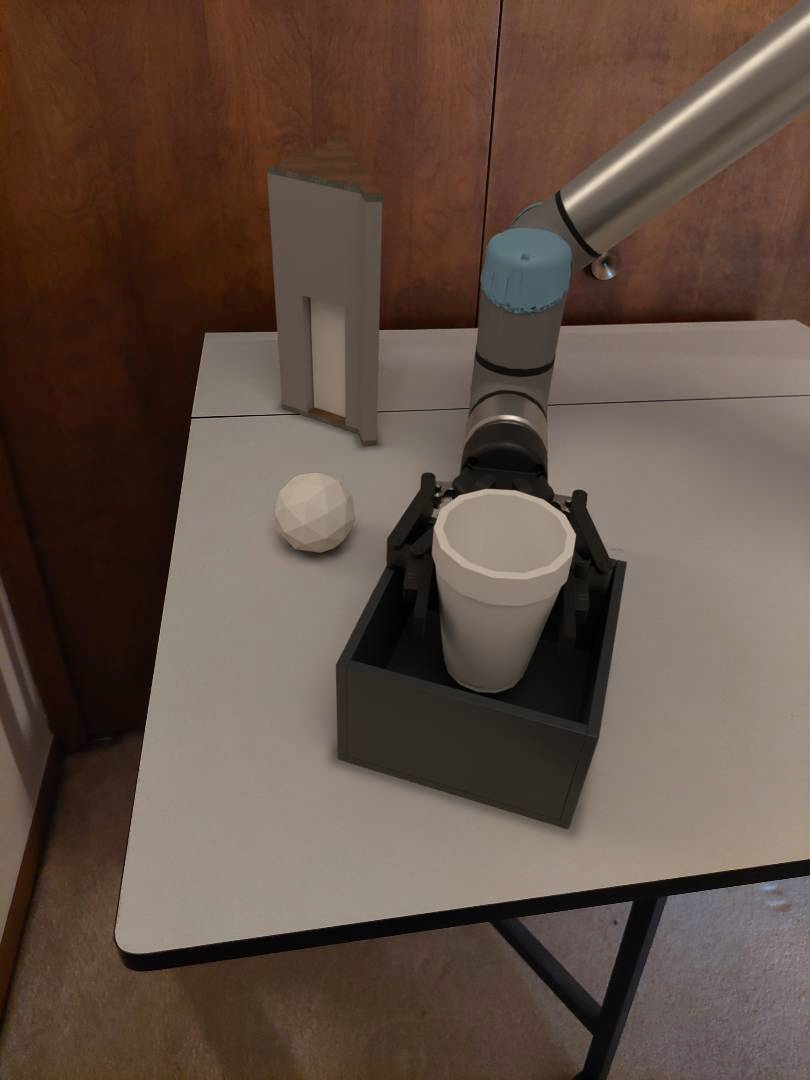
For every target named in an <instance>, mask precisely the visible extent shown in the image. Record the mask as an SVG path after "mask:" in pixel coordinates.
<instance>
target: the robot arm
mask: <svg viewBox="0 0 810 1080" xmlns="http://www.w3.org/2000/svg"><path fill="white" fill-rule="evenodd" d="M809 110H810V0H799V1H798V2H796V3H795V4H794V5H792V6H791V7H790V8H789V9H788V10H786V11H785V12H784V13H782V14H781V15H780V16H779V17H777V18H776V19H774V21H772V22H771V23H770V24H768V25H767V26H766V27H765V28H763V29H762V30H761V31H760V32H759V33H757V34H756V35H754V36H753V37H752V38H751V39H749V40H748V41H747V42H746V43H744V44H743V45H742V46H740V47H739V48H738V49H737V50H735V51H734V52H733V53H731V54H730V55H729V56H727V57H726V58H725V59H724V60H723V61H721V62H720V63H719V64H718V65H716V66H715V67H714V68H712V69H710V71H709V72H707V73H706V74H704V76H702V77H701V78H700V79H698V80H697V81H696V82H695V83H693V84H692V85H691V86H689V87H688V88H687V89H686V90H684V91H683V92H682V93H680V94H679V95H678V96H676V97H675V98H674V99H673V100H671V101H670V102H669V103H668V104H667V105H665V106H664V107H663V108H661V109H660V110H659V111H657V113H655V114H654V115H652V116H651V117H650V118H649V119H647V120H646V121H645V122H643V123H642V124H641V125H640V126H639V127H637V128H636V129H635V130H633V131H632V132H631V133H629V134H628V135H627V136H626V137H625V138H623V139H621V140H620V141H619V142H618V143H617V144H616V145H614V146H613V147H612V148H611V149H609V150H608V151H606V152H605V153H604V154H603V155H601V156H600V157H599V158H597V160H595V161H593V162H592V163H591V164H590V165H589V166H587V167H586V168H584V169H583V170H582V171H581V172H579V174H577V175H576V176H574V177H573V179H571V180H569V181H568V182H567V183H566V184H564V185H563V186H562V187H560V189H559V190H557V191H556V192H555V193H553V194H552V195H551V196H549V197H548V198H547V199H545V200H543V201H539V202H536V203H532V204H530V205H529V206H527V207H525V208H524V209H523V210H522V211H521V212H519V214H518V215H517V216H516V217H515V218H514V219H513V220H512V221H511V223H510V225H509V227H508V229H505V230H503V231H502V232H500V233H496V234H495V235H493V236H492V237H491V238H490V240H489V242H487V245H486V251H485V258H484V263H483V266H482V267H483V269H482V270H481V273H480V279H479V280H480V284H481V289H480V300H479V309H478V310H479V312H478V324H477V335H476V345H475V350H474V351H475V352H474V358H473V368H472V375H471V385H470V397H469V405H468V417H467V421H466V425H465V432H464V439H463V445H462V448H463V449H462V452H461V453H462V454H461V461H460V468H459V473H458V475H457V476H456V477H454V478H453V480H452V481H443V480H441V481H440V480H437V479H436V478H437V477H436V474H435V473H433V472H427V471H426V472H422V474H421V475H420V486H419V487H420V488H419V490H418V491H417V493H416V495H415V496H414V497H413V498H412V500H411V502H410V504H409V505H408V506H407V508H406V509H405V511H404V512H403V514H402V516H401V517H400V519H399V520H398V522H397V523H396V525H395V526H394V528H393V529H392V531H391V532H390V534H389V535H388V537H387V538H386V559H385V560H386V561H385V563H386V565H387V566H388V567H389V568H391V569H398V568H400V567H401V568H403V569H404V570H405V571H406V573H405V578H404V583H403V599H404V602H409V603H416V604H415V609H414V615H413V626H412V641H411V645H418V646H422V643H423V637H424V631H425V625H426V618H427V612H428V606H429V600H430V594H431V587H432V580H433V568H434V565H435V562H434V559H433V556H432V545H433V533H434V526H435V525H434V526H433V527H432V528H430V529H429V530H428V531H427V532H426V533H425V534H424V535H423V536H421V537H420V535H421V534H422V532H423V530H424V529H425V527H426V525H427V524H428V522H429V521H430V519H431V517H433V515H434V511H435V510H438V509H441V505H442V504H443V503H444V502H445V500H446V499H451V501H453V500H454V499H455V498H457V497H458V496H459V495H463V494H467V493H472V492H476V491H480V490H484V489H496V490H516V491H519V492H522V493H525V494H528V495H531V496H534V497H537V498H540V499H543V500H545V501H546V502H548V503H549V504H550V505H552V506H553V507H555V508H556V509H557V510H559V511H560V512H562V513H563V514H564V515H565V516H566V518H567V519H568V521H569V523H570V525H571V527H572V528H573V530H574V532H575V534H576V538H575V545H574V552H573V557H572V561H571V566H570V570H569V574H568V578H567V581H566V582H565V583H564V584H563V585H562V586H561V589H560V591H559V593H558V596H557V626H558V663H559V664H567V665H569V664H570V660H571V656H572V652H573V648H574V644H575V641H576V624H584V622H585V621H586V618H587V614H588V610H589V606H590V604H589V592H590V591H592V592H594V593H596V594H604V593H606V591H607V588H608V584H609V581H610V577H611V573H612V570H613V564H612V562H611V559H610V558H611V557H610V555H609V553H608V551H607V549H606V546H605V544H604V542H603V540H602V538H601V536H600V534H599V531H598V529H597V527H596V525H595V523H594V521H593V519H592V516H591V514H590V513H589V510H588V508H587V505H588V497H589V496H588V495H589V494H588V492H587V491H585V490H584V489H575V490H573V491H572V493H571V495H563V494H558V493H555V491H554V489H553V488H552V487H551V486H550V483H549V457H548V453H549V440H548V439H549V438H548V437H549V436H548V435H549V434H548V428H549V427H548V412H549V411H548V410H549V397H550V390H551V386H552V385H551V384H552V379H553V373H554V368H555V360H556V357H557V355H556V352H557V347H558V342H559V336H560V332H561V327H562V321H563V316H564V311H565V306H566V301H567V297H568V293H569V289H570V285H571V280H572V277H573V276H574V275H576V274H577V273H579V272H580V271H581V270H583V269H584V268H586V267H587V266H588V265H590V264H592V263H593V262H595V261H596V260H597V259H599V258H600V257H602V256H603V254H605V253H606V252H607V251H610V250H611V249H612V248H613V247H615V246H616V245H618V244H619V243H621V242H622V241H624V240H625V239H626V238H628V237H629V236H631V235H632V234H633V233H635V232H636V231H638V230H640V229H641V228H642V227H644V226H645V225H646V224H647V223H649V222H650V221H652V220H654V219H655V218H656V217H658V216H659V215H661V214H662V213H664V212H665V211H666V210H668V209H669V208H670V207H672V206H673V205H675V204H676V203H678V202H679V201H681V200H682V199H684V198H685V197H687V196H688V195H689V194H691V193H692V192H694V191H695V190H696V189H698V188H699V187H701V186H702V185H703V184H705V183H707V182H708V181H709V180H711V179H713V178H714V177H715V176H717V175H718V174H719V173H721V172H722V171H724V170H726V168H728V167H730V166H731V165H732V164H734V163H735V162H737V161H738V160H739V159H741V158H742V157H744V156H745V155H747V154H748V153H749V152H751V151H753V149H755V148H756V147H758V146H759V145H761V144H762V143H764V142H765V141H767V140H769V139H770V138H771V137H773V136H774V135H775V134H777V133H778V132H780V131H781V130H782V129H784V128H785V127H786V126H788V125H789V124H791V123H792V122H794V121H796V120H797V119H798V118H800V117H801V116H803V115H804V114H805V113H807V112H808V111H809ZM419 537H420V538H419ZM418 538H419V539H418Z"/></svg>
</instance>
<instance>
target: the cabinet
mask: <svg viewBox="0 0 810 1080" xmlns="http://www.w3.org/2000/svg"><path fill="white" fill-rule="evenodd" d="M326 141H327V143H325V144H323V145H320V146H317V147H315V148H312V149H310V150H306V151H303V152H302V153H298V154H296V155H293V156H290V157H287V158H285V159H282V160H279V161H277V162H274V163H271V164H269V165H266V177H267V193H268V208H269V209H268V210H269V222H270V223H269V225H270V239H271V254H272V255H271V256H272V269H273V270H272V271H273V284H274V285H273V286H274V287H273V288H274V299H275V301H274V302H275V316H276V317H275V319H276V332H277V333H276V334H277V347H278V363H279V364H278V365H279V379H280V381H279V382H280V393H281V394H280V395H281V408H282V410H286V411H289V412H292V413H295V414H297V415H301V416H304V417H307V418H310V419H313V420H316V421H319V422H321V423H325V424H327V425H332V426H333V427H336V428H339V429H342V430H345V431H349V432H351V433H354V434H357V435H358V437H359V439H360V442H361V444H362V447H367V446H376V445H377V439H378V438H377V434H378V433H377V432H378V395H379V394H378V393H379V392H378V391H379V354H380V353H379V351H380V350H379V349H380V315H381V313H380V308H381V269H382V234H383V233H382V232H383V231H382V229H383V228H382V227H383V193H382V192H381V190H380V189H379V188H378V186H377V185H376V183H375V181H374V180H373V179H372V177H371V176H370V175H369V173H368V172H367V170H366V169H365V167H364V166H363V164H362V163H361V161H359V159H358V157H357V155H356V154H355V153H354V152H353V150H352V149H351V147H350V146H349V144H348V143H347V142H346V140H345V139H344V137H343V136H342V135H327V138H326Z"/></svg>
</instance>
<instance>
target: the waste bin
mask: <svg viewBox="0 0 810 1080" xmlns="http://www.w3.org/2000/svg"><path fill="white" fill-rule="evenodd" d="M437 518H438V517H436V516H435V517H434V516H432V517H431V519H430V521H429V522H428V524H427V525H426V527H425V529H424V530H423V532H422V534H421V535H420V537H421V536H423V535H424V534H425V533H426V532H427V531H428V530H429V529H430V528H432V527H433V526H434V525H435V523H436V521H437ZM420 537H419V538H420ZM419 538H418V539H419ZM610 559H611V562H612V564H613V570H612V573H611V577H610V581H609V584H608V588H607V591H606V593H604V594H596V593H594V592H592V591H590V592H589V604H590V606H589V610H588V614H587V618H586V621H585V622H584V624H576V641H575V644H574V648H573V652H572V656H571V660H570V664H569V665H567V664H559V663H558V626H557V598H556V600H555V603H554V605H553V607H552V610H551V612H550V615H549V617H548V619H547V622H546V624H545V626H544V629H543V631H542V634H541V636H540V638H539V641H538V643H537V645H536V648H535V650H534V653H533V655H532V657H531V660H530V662H529V664H528V667H527V669H526V671H525V672H524V675H523V677H522V678H521V679H520V680H519V681H518V682H517V683H516V684H515V685H514V686H513V687H512V688H509V689H506V690H503V691H500V692H497V693H490V692H476V691H474V690H472V689H469V688H467V687H465V686H462V685H460V684H459V683H458V682H457V681H456V680H455V679H454V678H453V677H452V676H451V675H450V674H449V673H448V671H447V667H446V664H445V661H444V654H443V646H442V634H441V622H440V611H439V599H438V587H437V576H436V565H434V568H433V580H432V587H431V594H430V600H429V606H428V612H427V618H426V625H425V631H424V637H423V643H422V646H418V645H411V641H412V626H413V615H414V609H415V604H416V603H409V602H404V599H403V583H404V578H405V573H406V571H405V570H404V569H403V568H401V567H400V568H398V569H391V568H389V567H388V566H387V564H386V565H385V567H384V569H383V571H382V573H381V574H380V577H379V579H378V581H377V583H376V585H375V586H374V588H373V591H372V593H371V595H370V597H369V598H368V601H367V603H366V604H365V607H364V609H363V610H362V613H361V615H360V617H359V618H358V620H357V622H356V624H355V626H354V628H353V630H352V632H351V634H350V636H349V638H348V640H347V642H346V644H345V646H344V648H343V650H342V652H341V654H340V656H339V658H338V659H337V662H336V664H335V695H336V696H335V697H336V698H335V699H336V700H335V701H336V743H337V745H336V746H337V747H336V749H337V759H338V760H340V761H343V762H347V763H348V764H353V765H355V766H356V765H357V766H359V767H363V768H366V769H369V770H373V771H375V772H379V773H383V774H386V775H389V776H392V777H396V778H398V779H403V780H406V781H409V782H413V783H415V784H419V785H422V786H425V787H428V788H432V789H435V790H439V791H443V792H445V793H449V794H451V795H455V796H458V797H461V798H465V799H468V800H471V801H475V802H478V803H482V804H483V805H484V804H485V805H488V806H491V807H494V808H498V809H501V810H505V811H508V812H511V813H514V814H517V815H521V816H524V817H527V818H531V819H534V820H537V821H540V822H544V823H547V824H550V825H553V826H557V827H560V828H564V829H567V830H570V827H571V824H572V821H573V818H574V815H575V812H576V810H577V809H576V808H577V806H578V803H579V800H580V798H581V797H580V796H581V794H582V790H583V788H584V784H585V782H586V780H587V779H586V778H587V776H588V772H589V770H590V767H591V763H592V761H593V758H594V754H595V752H596V748H597V745H598V742H599V739H600V734H601V729H602V728H601V727H602V722H603V715H604V709H605V703H606V697H607V691H608V685H609V678H610V671H611V666H612V660H613V653H614V648H615V647H614V645H615V640H616V633H617V628H618V621H619V616H620V615H619V614H620V609H621V601H622V596H623V590H624V583H625V578H626V572H627V566H628V562H627V561H626V560H621V559H616V558H611V557H610Z"/></svg>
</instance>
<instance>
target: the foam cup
mask: <svg viewBox="0 0 810 1080" xmlns="http://www.w3.org/2000/svg"><path fill="white" fill-rule="evenodd" d="M436 518H437V521H436V523H435V526H434V533H433V545H432V556H433V559H434V562H435V565H436V576H437V587H438V599H439V611H440V622H441V634H442V646H443V654H444V661H445V664H446V667H447V671H448V673H449V674H450V675H451V676H452V677H453V678H454V679H455V680H456V681H457V682H458V683H459V684H460V685H462V686H465V687H467V688H469V689H472V690H474V691H476V692H490V693H497V692H500V691H503V690H506V689H509V688H512V687H513V686H514V685H515V684H516V683H517V682H518V681H519V680H520V679H521V678H522V677H523V675H524V672H525V671H526V669H527V667H528V664H529V662H530V660H531V657H532V655H533V653H534V650H535V648H536V645H537V643H538V641H539V638H540V636H541V634H542V631H543V629H544V626H545V624H546V622H547V619H548V617H549V615H550V612H551V610H552V607H553V605H554V603H555V600H556V598H557V596H558V593H559V591H560V589H561V586H562V585H563V584H564V583H565V582H566V581H567V578H568V574H569V570H570V566H571V561H572V557H573V552H574V545H575V538H576V534H575V532H574V530H573V528H572V527H571V525H570V523H569V521H568V519H567V518H566V516H565V515H564V514H563V513H562V512H560V511H559V510H557V509H556V508H555V507H553V506H552V505H550V504H549V503H548V502H546V501H545V500H543V499H540V498H537V497H534V496H531V495H528V494H525V493H522V492H519V491H516V490H496V489H484V490H480V491H476V492H472V493H467V494H463V495H459V496H458V497H457V498H455V499H454V500H451V501H450V502H448V503H447V504H446V505H444V506H443V507H441V508H440V510H439V513H438V516H437V517H436Z"/></svg>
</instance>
